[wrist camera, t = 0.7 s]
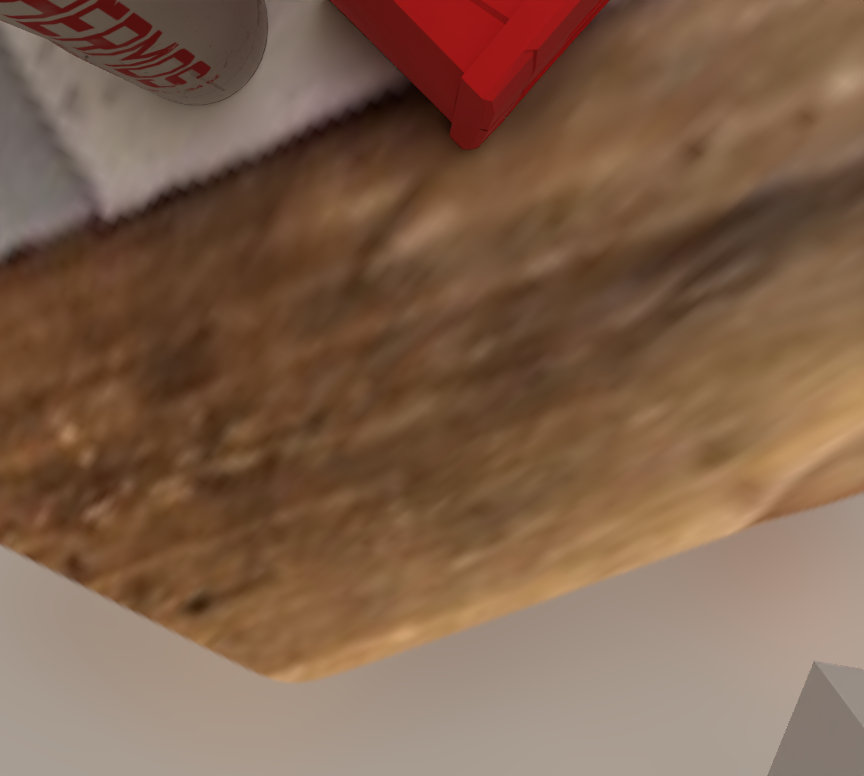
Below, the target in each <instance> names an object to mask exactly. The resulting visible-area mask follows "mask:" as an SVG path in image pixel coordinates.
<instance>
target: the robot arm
mask: <svg viewBox="0 0 864 776" xmlns="http://www.w3.org/2000/svg"><path fill="white" fill-rule="evenodd" d="M768 776H864V670H863V669H860V668H854V667H848V666H842V665H835V664H830V663H823V662H817V661H814V663H813V665H812V668H811V670H810V673H809V675H808V677H807V680H806V682H805V685H804V687H803V690H802V692H801V695H800V697H799V700H798V702H797V704H796V707H795V709H794V712H793V714H792V717H791V719H790V721H789V724H788V726H787V729H786V732H785V734H784V736H783V739H782V741H781V744H780V746H779V748H778V751H777V754H776V756H775V758H774V761H773V763H772V766H771V768H770V771H769V773H768Z"/></svg>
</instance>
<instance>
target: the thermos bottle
mask: <svg viewBox="0 0 864 776" xmlns="http://www.w3.org/2000/svg"><path fill="white" fill-rule="evenodd" d="M0 20H1V21H4V22H6V23H9V24H11V25H13V26H16V27H18V28H21V29H23V30H26V31H28V32H31V33H33V34H36V35H39V36H41V37H44V38H46V39H48V40H50V41H51V42H53V43H55V44H56V45H58V46H59V47H61V48H63V49H64V50H66V51H67V52H69V53H71V54H73V55H75V56H76V57H78V58H81V59H83V60H85V61H87V62H89V63H91V64H93V65H95V66H97V67H99V68H101V69H104V70H106V71H108V72H110V73H112V74H114V75H116V76H119V77H121V78H123V79H125V80H127V81H129V82H131V83H133V84H135V85H137V86H139V87H141V88H144V89H146V90H148V91H150V92H152V93H154V94H156V95H158V96H161V97H163V98H166V99H168V100H171V101H173V102H177V103H182V104H188V105H204V104H209V103H213V102H217V101H220V100H222V99H224V98H226V97H228V96H230V95H232V94H234V93H235V92H236V91H238V90H239V89H240V88H241V87H243V86H244V85H245V84H246V82H247V81H248V80H249V79H250V78H251V76H252V75H253V74H254V72H255V71H256V69H257V67H258V65H259V63H260V61H261V59H262V56H263V52H264V49H265V45H266V39H267V29H268V23H267V11H266V6H265V2H264V0H0Z"/></svg>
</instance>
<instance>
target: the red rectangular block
mask: <svg viewBox="0 0 864 776" xmlns="http://www.w3.org/2000/svg"><path fill="white" fill-rule="evenodd" d="M330 1H331V2H332V3H333V4H334V5H335V6H336V7H337V8H338V9H339V10H340V11H341V12H342V13H343V14H344V15H345V16H346V17H347V18H348V19H349V20H350V21H351V22H352V23H353V24H354V25H355V26H356V27H357V28H358V29H359V30H360V31H361V32H362V33H363V34H364V35H365V36H366V37H367V38H368V39H369V40H370V41H371V42H372V43H373V44H374V45H375V46H376V47H377V48H378V49H379V50H380V51H381V52H382V53H383V54H384V55H385V56H386V57H387V58H388V59H389V60H390V61H391V62H392V63H393V64H394V65H395V66H396V67H397V68H398V69H399V70H400V71H401V72H402V73H403V74H404V75H405V76H406V77H407V78H408V79H409V80H410V81H411V82H412V83H413V84H414V85H415V86H416V87H417V88H418V89H419V90H420V91H421V92H422V93H423V94H424V95H425V96H426V97H427V98H428V99H429V100H430V101H431V102H432V103H433V104H434V105H435V106H436V107H437V108H438V109H439V110H440V111H441V112H442V113H443V114H444V115H445V116H446V117H447V118H448V119H449V120H450V121H451V122H452V126H451V131H450V137H451V138H452V139H453V140H454V141H455V142H456V143H457V144H458V145H459V146H460V147H461V148H462V149H467V150H470V149H475V148H478V147H479V146H480V145H481V144H482V143H483V142H484V141H485V139H486V138H487V137H488V136H489V135H490V134H491V133H492V132H493V131H494V130H495V129H496V128H497V127H498V126H499V125H500V124H501V123H502V122H503V121H504V120H505V117H507V116H508V115H509V113H510V112H511V111H512V110H513V109H514V108H515V106H516V105H517V104H518V103H519V102H520V101H521V99H522V98H523V97H524V96H525V95H526V94H527V92H528V91H529V90H530V89H531V88H532V87H533V85H534V84H535V83H536V82H537V81H538V80H539V79H540V77H541V76H542V75H543V74H544V73H545V72H546V71H547V70H548V69H549V67H550V66H551V65H552V64H553V63H554V62H555V61H556V60H557V58H558V57H559V56H560V55H561V54H562V53H563V52H564V51H565V50H566V48H567V47H568V46H569V45H570V44H571V43H572V42H573V41H574V39H575V38H576V37H577V36H578V35H579V34H580V33H581V32H582V31H583V29H584V28H585V27H586V26H587V25H588V24H589V23H590V22H591V20H592V19H593V18H594V17H595V16H596V15H597V14H598V13H599V12H600V10H601V9H602V8H603V7H604V6H605V5H606V4H607V3H608V2H609V0H330ZM480 129H482V130H480Z"/></svg>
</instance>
